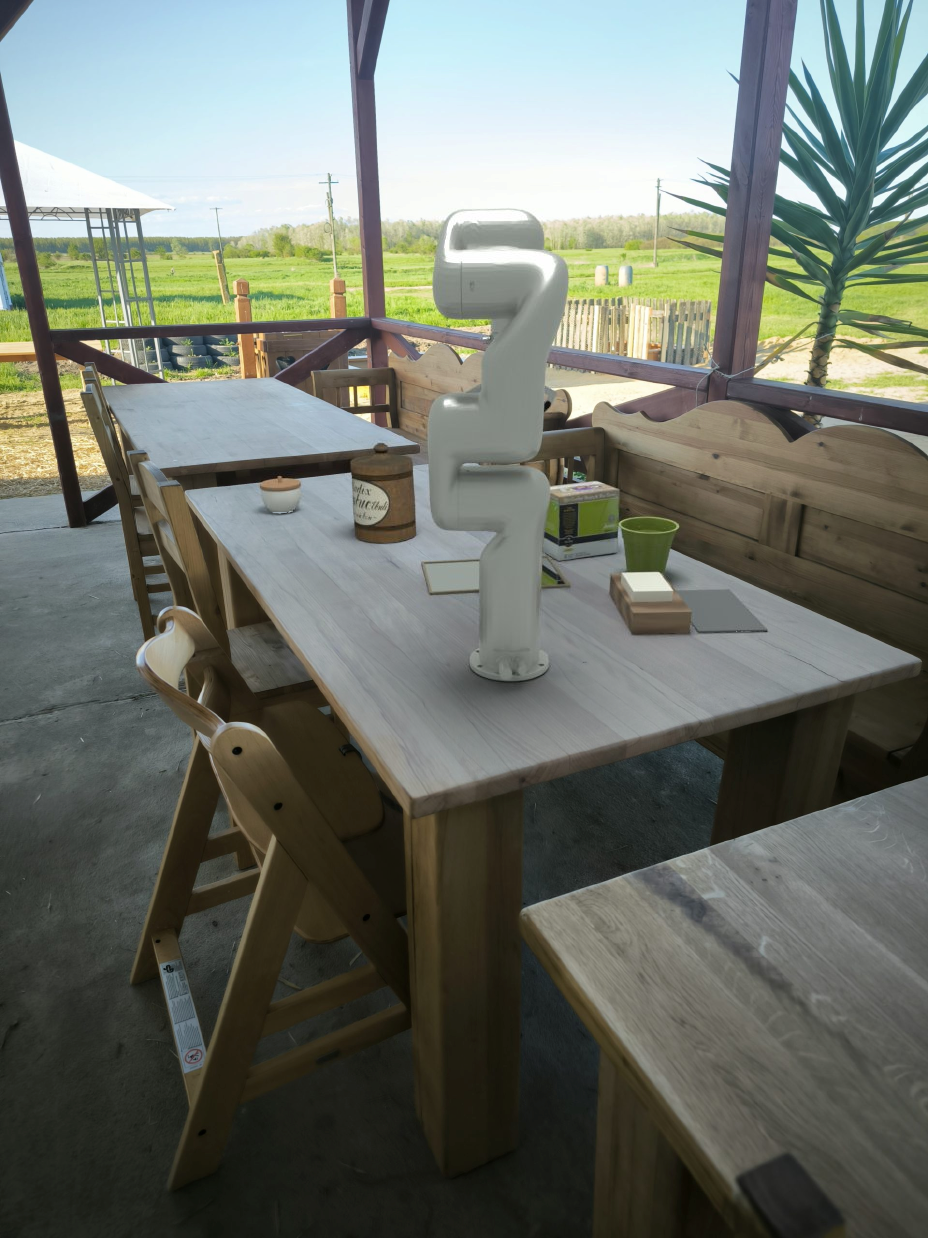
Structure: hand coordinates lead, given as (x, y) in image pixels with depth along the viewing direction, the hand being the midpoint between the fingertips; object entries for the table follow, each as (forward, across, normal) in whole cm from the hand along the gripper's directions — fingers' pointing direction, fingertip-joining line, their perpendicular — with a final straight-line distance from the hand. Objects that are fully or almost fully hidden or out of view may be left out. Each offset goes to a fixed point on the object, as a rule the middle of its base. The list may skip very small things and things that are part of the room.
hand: (509, 436), depth 156 cm
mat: (+29, +36, -20) cm, 50 cm away
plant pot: (+29, +28, -1) cm, 40 cm away
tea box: (+29, +17, +17) cm, 38 cm away
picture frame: (+29, -3, +2) cm, 30 cm away
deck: (+29, +24, -20) cm, 42 cm away
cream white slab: (+25, +23, -20) cm, 39 cm away
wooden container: (+29, -26, +34) cm, 52 cm away
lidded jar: (+29, -55, +58) cm, 85 cm away
